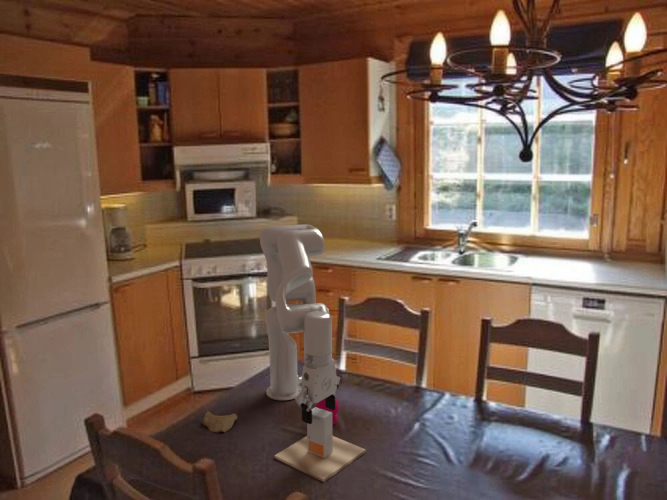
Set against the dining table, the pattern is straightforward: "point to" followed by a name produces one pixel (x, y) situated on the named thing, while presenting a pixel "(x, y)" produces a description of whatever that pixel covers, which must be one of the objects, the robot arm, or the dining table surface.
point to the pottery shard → (219, 422)
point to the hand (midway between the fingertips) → (319, 415)
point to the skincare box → (320, 433)
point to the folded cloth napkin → (320, 458)
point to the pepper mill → (334, 412)
